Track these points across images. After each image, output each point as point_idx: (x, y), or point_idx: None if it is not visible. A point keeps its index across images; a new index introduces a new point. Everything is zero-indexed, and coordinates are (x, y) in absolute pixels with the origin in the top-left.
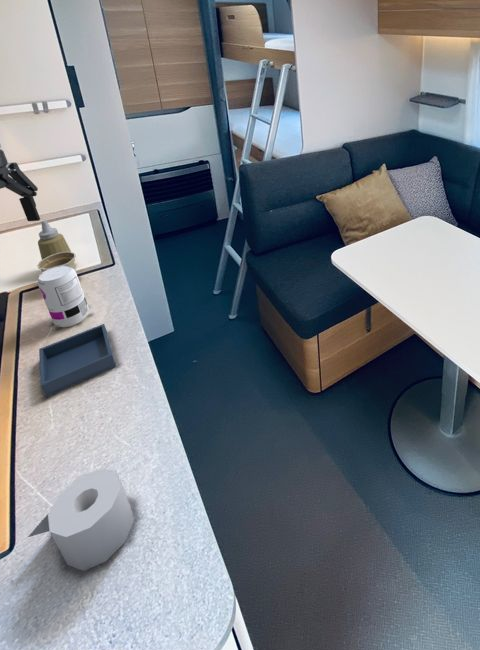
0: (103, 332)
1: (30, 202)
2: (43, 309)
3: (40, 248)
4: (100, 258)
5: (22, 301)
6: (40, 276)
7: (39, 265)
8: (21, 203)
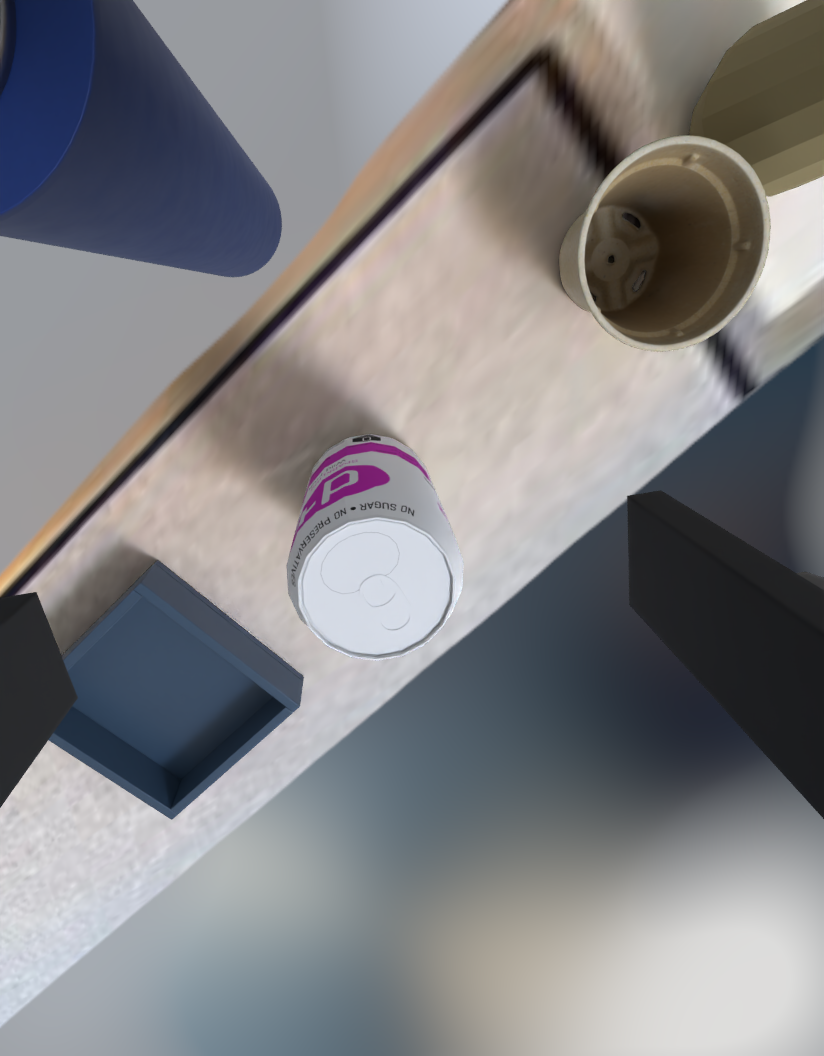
0: (257, 734)
1: (774, 755)
2: (414, 313)
3: (808, 31)
4: (821, 279)
5: (466, 140)
6: (339, 531)
7: (632, 163)
8: (779, 613)
